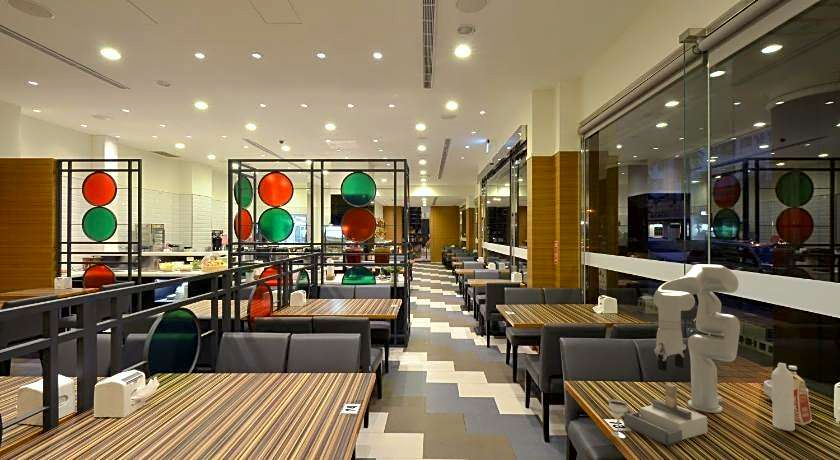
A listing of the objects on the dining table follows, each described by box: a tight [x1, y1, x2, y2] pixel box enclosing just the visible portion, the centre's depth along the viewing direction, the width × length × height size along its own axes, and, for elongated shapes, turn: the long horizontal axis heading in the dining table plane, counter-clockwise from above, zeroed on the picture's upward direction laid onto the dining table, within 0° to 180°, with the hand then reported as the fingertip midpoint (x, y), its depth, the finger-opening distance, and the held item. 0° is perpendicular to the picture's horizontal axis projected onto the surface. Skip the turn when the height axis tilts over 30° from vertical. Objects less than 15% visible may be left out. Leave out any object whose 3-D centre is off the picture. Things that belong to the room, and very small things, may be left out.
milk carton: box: [789, 370, 813, 426], centre depth 170 cm, size 9×9×20 cm
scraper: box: [652, 383, 692, 420], centre depth 161 cm, size 3×14×10 cm, turn 24°
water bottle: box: [771, 362, 798, 432], centre depth 161 cm, size 9×6×25 cm
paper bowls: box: [763, 379, 810, 401], centre depth 187 cm, size 15×15×8 cm
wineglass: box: [608, 398, 629, 439], centre depth 155 cm, size 7×7×12 cm
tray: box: [623, 411, 683, 447], centre depth 156 cm, size 8×18×5 cm, turn 23°
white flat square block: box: [639, 404, 708, 441], centre depth 161 cm, size 16×16×6 cm
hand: (670, 368), depth 162 cm, fingers open, 9 cm apart
